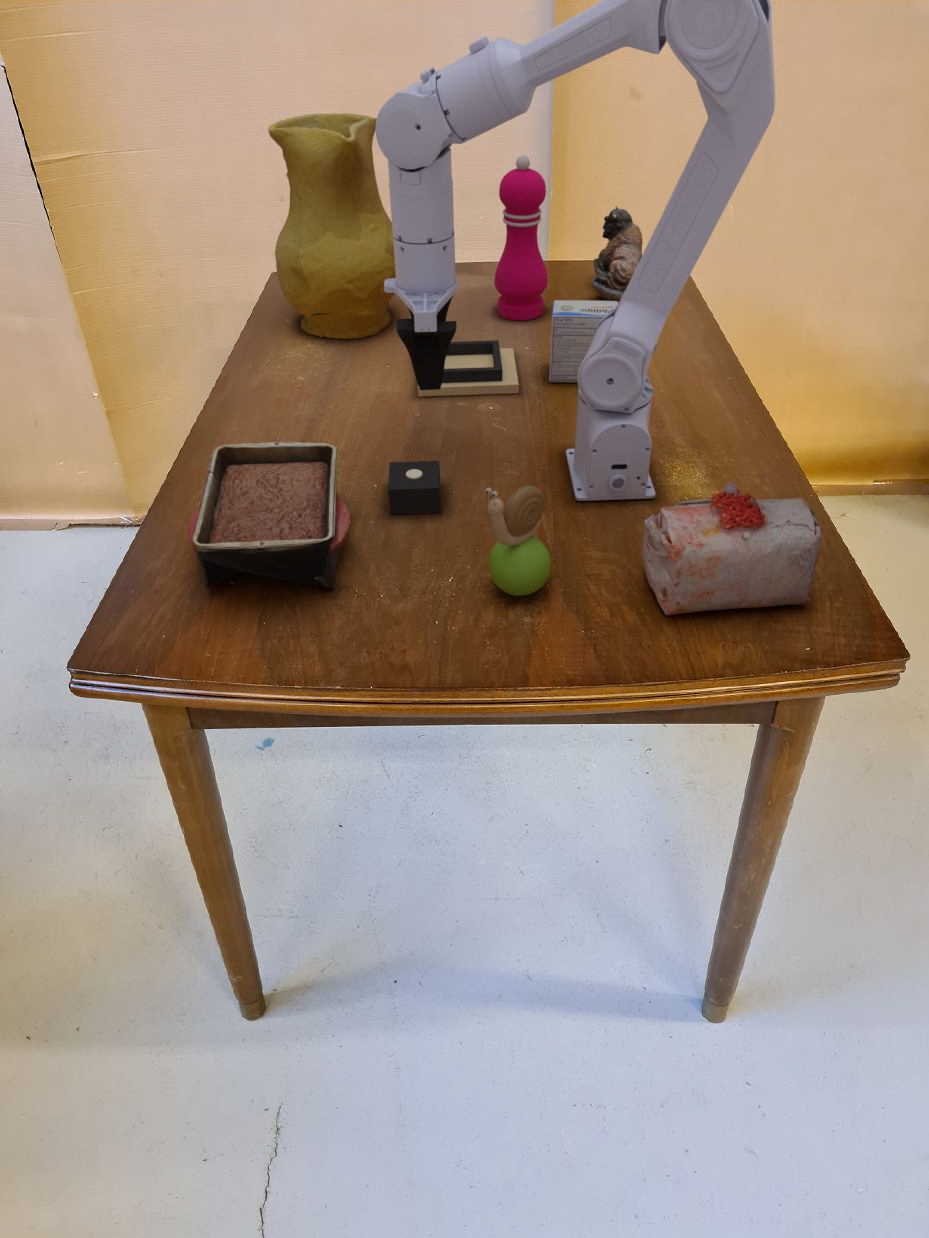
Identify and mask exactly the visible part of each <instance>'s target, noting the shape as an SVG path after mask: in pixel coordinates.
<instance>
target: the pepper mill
mask: <svg viewBox="0 0 929 1238" xmlns="http://www.w3.org/2000/svg"><path fill="white" fill-rule="evenodd" d="M515 166H516V168H514V169H511V170H509V171H508V172H506V174H504V175H503V177H502V179H501V180H500V183H499V189H498V196H499V200H500V202H501V203H502V205H503V206H504V209H503V210H502V215H503V217H502V222H503V224H505V227H506V228H505V229H506V237H505V238H506V239H505V243H504V247H503V251H502V253H501V256H500V258H499V260H498V264H497V266H496V269H495V273H494V287H495V290H496V291H497V292H498V293H499V294H500V296H499V297H498V298H497V312H498V314H499V315H500V317H502V318H504V319H506V320H507V319H508V320H511V321H530V320H534V319H536V318H539V317H540V316H542V314H543V313H544V298H543V297H542V294H543V293H544V292H545V291H546V289H547V287H548V280H549V279H548V271H547V268H546V264H545V262H544V259H543V256H542V255H541V251H540V247H539V242H538V227H539V224H540V223H541V222H542V216H541V215H542V209H541V208H540V206H541V205H542V204H543V202H544V201H545V199H546V195H547V186H546V181H545V178H544V177H543V175H541V174H540V172H538V171H537V170H535V169H533V168H530V166H531V161H530V158H529V156H527V155H524V154H523V155H519V156H518V157H517V159H516V160H515Z"/></svg>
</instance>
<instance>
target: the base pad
mask: <svg viewBox="0 0 929 1238" xmlns="http://www.w3.org/2000/svg"><path fill="white" fill-rule="evenodd" d="M519 392H520V384H519V377H518V370H517V365H516V358H515V351H514V348H513V347H506V348H504V347H503V348H502V347H501V348H500V341H499V340H498V339H496V340H469V341H467V340H466V341H465V340H463V341H462V340H461V341H451V343H450V345H449V347H448V351H447V354H446V359H445V366H444V374H443V380H442V385H441V388H440V389H439V390H420V389H419V386H418V385H417V396H418V397H422V398H423V397H446V396H448V397H449V396H450V397H451V396H478V395H505V394H506V395H507V394H508V395H509V394H511V395H512V394H519Z"/></svg>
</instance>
